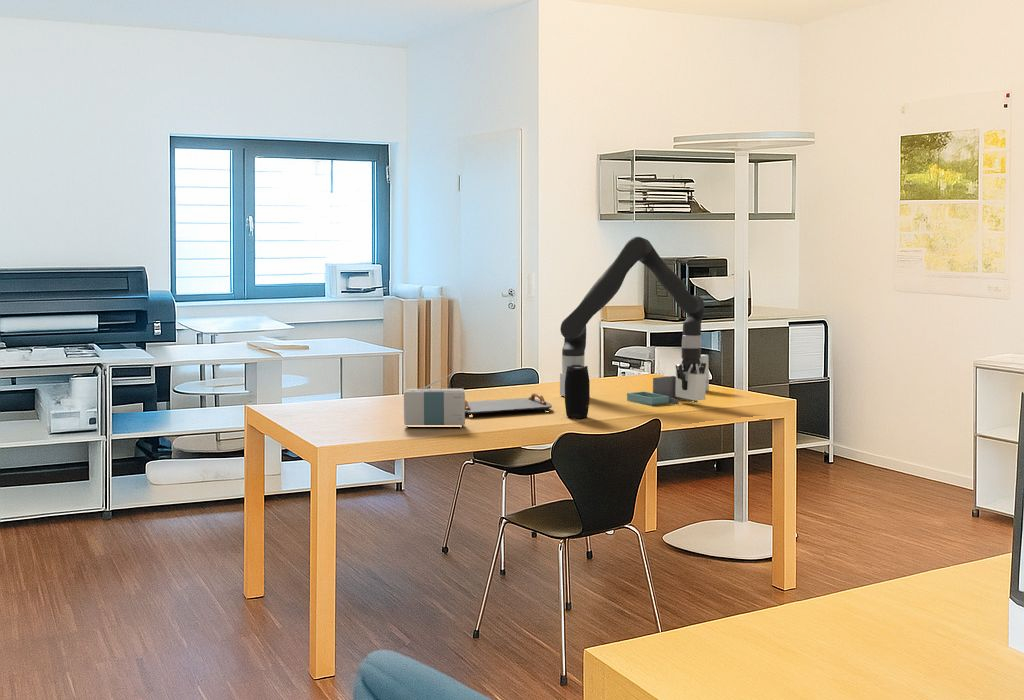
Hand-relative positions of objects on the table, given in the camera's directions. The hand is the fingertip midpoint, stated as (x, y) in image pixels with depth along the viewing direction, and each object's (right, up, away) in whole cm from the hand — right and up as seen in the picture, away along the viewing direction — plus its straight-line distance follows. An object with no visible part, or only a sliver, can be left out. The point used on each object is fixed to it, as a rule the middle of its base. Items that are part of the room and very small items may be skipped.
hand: (690, 389), depth 406 cm
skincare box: (+9, -2, +36) cm, 37 cm away
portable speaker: (-46, -10, -28) cm, 55 cm away
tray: (-16, -5, +6) cm, 18 cm away
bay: (-4, -5, +8) cm, 11 cm away
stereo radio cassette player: (-97, -12, -47) cm, 108 cm away
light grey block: (0, -4, 0) cm, 3 cm away
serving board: (-75, -8, -14) cm, 76 cm away
